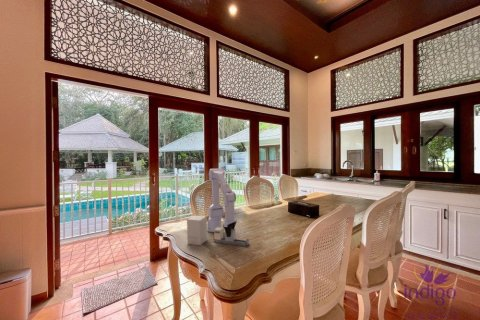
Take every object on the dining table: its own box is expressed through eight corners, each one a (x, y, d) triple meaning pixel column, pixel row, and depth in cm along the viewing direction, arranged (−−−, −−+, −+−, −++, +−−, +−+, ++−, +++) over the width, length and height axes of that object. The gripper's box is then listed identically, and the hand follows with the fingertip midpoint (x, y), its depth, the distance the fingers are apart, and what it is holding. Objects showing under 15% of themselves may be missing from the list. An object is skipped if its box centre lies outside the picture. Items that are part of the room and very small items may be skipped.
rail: (213, 242, 126) (213, 237, 126) (216, 239, 130) (216, 234, 130) (246, 246, 120) (246, 241, 120) (248, 243, 124) (248, 238, 124)
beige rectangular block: (214, 239, 126) (214, 229, 126) (217, 236, 130) (217, 227, 130) (220, 240, 125) (220, 230, 125) (223, 237, 129) (222, 227, 129)
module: (225, 240, 124) (225, 230, 124) (227, 237, 128) (227, 228, 128) (233, 241, 122) (232, 231, 122) (235, 238, 126) (235, 229, 126)
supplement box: (207, 239, 130) (207, 216, 130) (200, 245, 122) (199, 220, 122) (194, 238, 133) (194, 215, 133) (187, 243, 125) (186, 219, 125)
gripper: (231, 216, 117) (232, 240, 117) (239, 210, 130) (240, 231, 131) (220, 215, 119) (220, 239, 119) (229, 209, 133) (229, 230, 133)
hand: (230, 235), depth 125 cm, fingers open, 4 cm apart
